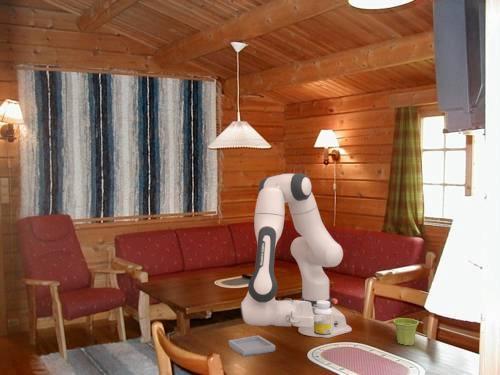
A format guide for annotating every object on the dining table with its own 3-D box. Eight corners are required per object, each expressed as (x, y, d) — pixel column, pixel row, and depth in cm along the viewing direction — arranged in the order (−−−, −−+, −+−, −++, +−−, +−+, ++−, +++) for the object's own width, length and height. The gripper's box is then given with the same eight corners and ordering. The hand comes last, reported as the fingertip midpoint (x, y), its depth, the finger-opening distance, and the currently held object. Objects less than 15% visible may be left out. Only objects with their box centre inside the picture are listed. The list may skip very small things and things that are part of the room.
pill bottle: (322, 330, 195) (322, 298, 195) (336, 334, 190) (336, 302, 190) (310, 334, 191) (310, 301, 191) (323, 338, 186) (323, 305, 186)
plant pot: (388, 343, 210) (388, 321, 210) (400, 337, 217) (400, 316, 216) (410, 349, 204) (411, 326, 203) (422, 343, 210) (422, 321, 210)
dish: (258, 340, 213) (258, 335, 213) (275, 351, 201) (275, 345, 201) (228, 346, 207) (228, 340, 207) (244, 357, 195) (244, 351, 195)
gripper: (286, 312, 181) (328, 313, 180) (286, 297, 201) (323, 298, 200) (286, 331, 181) (328, 332, 180) (286, 314, 202) (323, 314, 201)
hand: (325, 314), depth 190 cm, fingers closed on pill bottle, 6 cm apart
